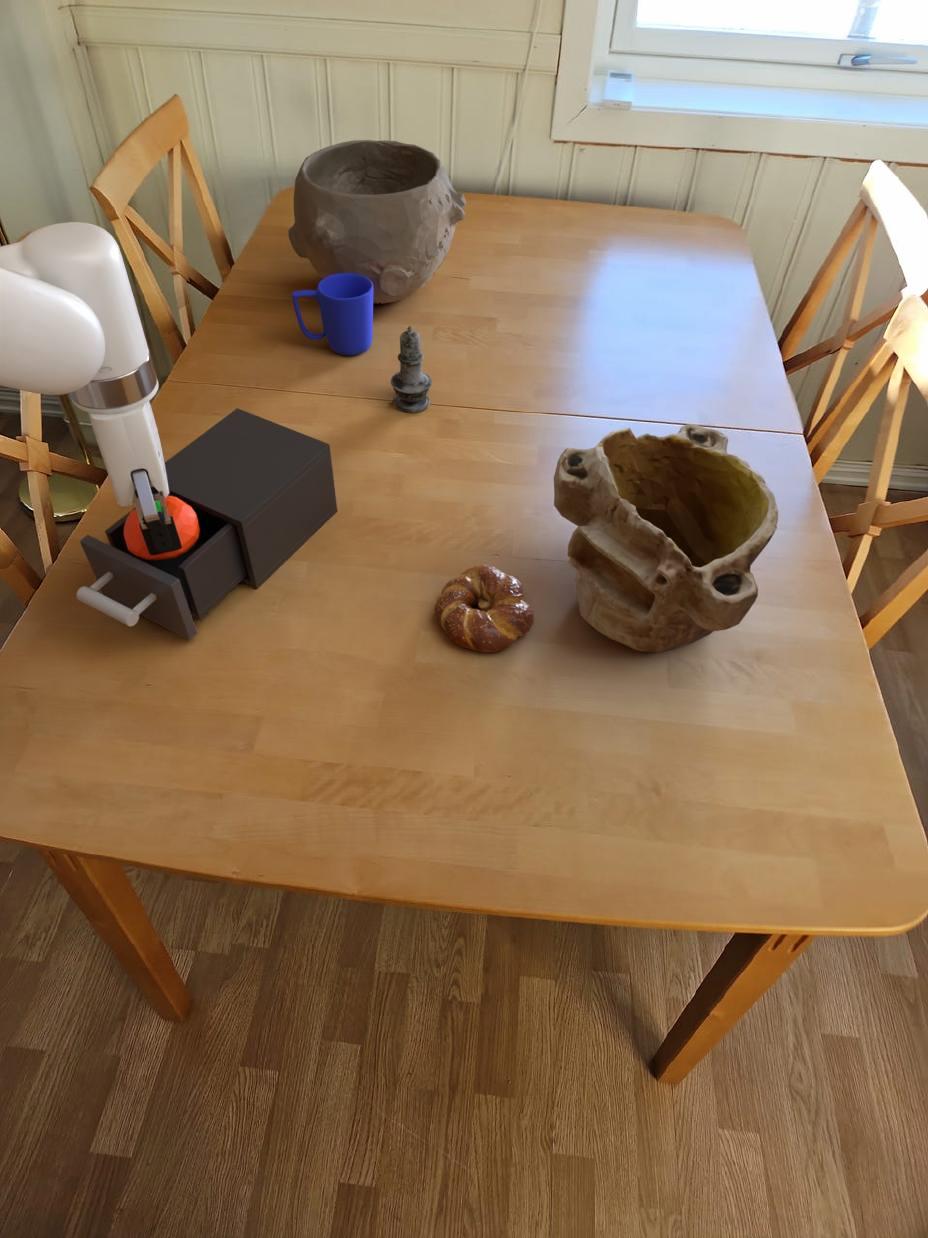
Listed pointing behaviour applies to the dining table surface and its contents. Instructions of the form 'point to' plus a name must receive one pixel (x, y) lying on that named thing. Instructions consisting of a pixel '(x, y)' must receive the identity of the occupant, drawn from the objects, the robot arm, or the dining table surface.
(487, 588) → the pretzel
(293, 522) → the cabinet
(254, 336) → the dining table surface
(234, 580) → the drawer
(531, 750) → the dining table surface
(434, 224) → the bowl
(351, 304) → the mug
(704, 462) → the ceramic vessel
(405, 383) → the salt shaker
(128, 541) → the pumpkin
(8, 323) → the robot arm
